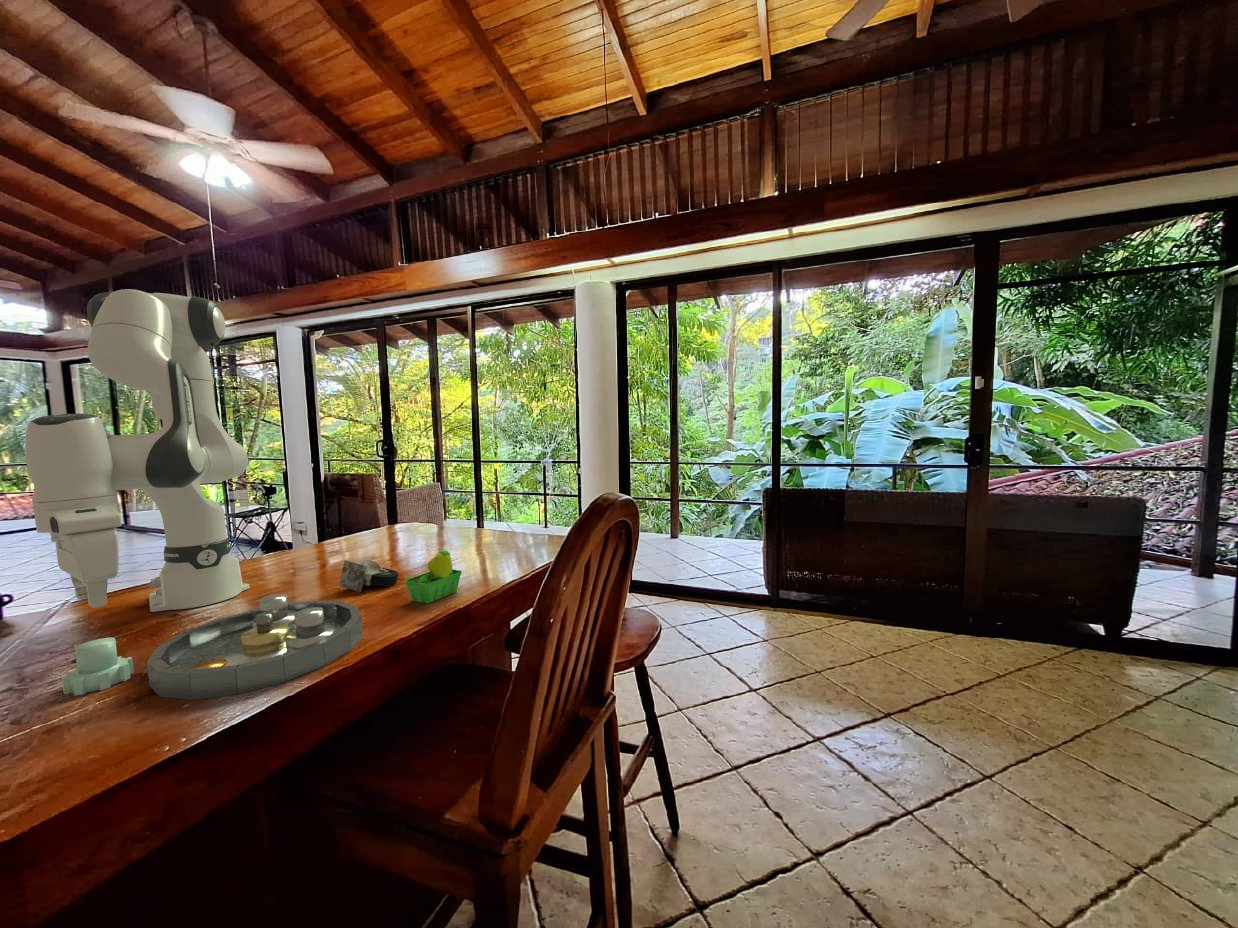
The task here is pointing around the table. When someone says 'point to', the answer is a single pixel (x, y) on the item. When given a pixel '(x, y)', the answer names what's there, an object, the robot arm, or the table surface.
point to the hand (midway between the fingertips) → (91, 601)
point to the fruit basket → (435, 580)
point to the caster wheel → (366, 575)
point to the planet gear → (97, 667)
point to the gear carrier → (254, 648)
